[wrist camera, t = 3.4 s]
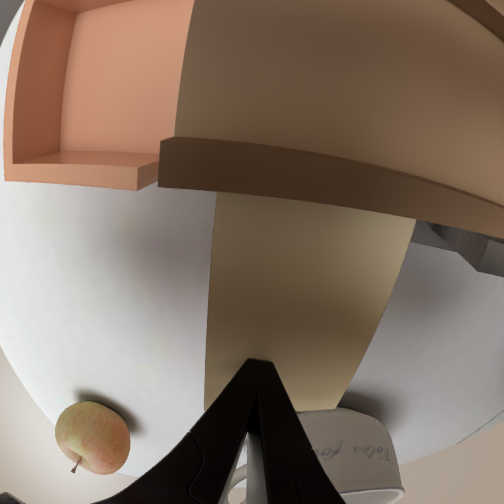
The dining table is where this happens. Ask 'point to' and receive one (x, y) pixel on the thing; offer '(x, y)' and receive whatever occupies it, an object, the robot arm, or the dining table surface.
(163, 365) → the dining table surface
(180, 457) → the robot arm
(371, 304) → the lever
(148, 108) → the peach open tray
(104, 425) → the fruit
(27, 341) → the dining table surface
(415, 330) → the dining table surface
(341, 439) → the teacup
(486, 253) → the seesaw stand
